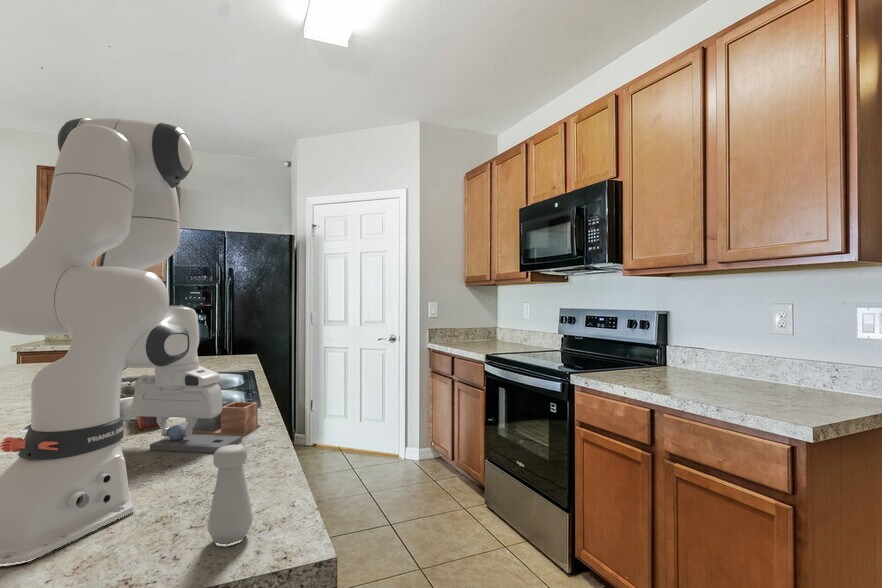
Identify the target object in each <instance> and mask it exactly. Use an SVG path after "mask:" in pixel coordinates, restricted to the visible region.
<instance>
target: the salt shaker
mask: <svg viewBox="0 0 882 588" xmlns="http://www.w3.org/2000/svg"><path fill="white" fill-rule="evenodd" d="M212 457H213V458H212V460H213V462H212V463H213V465H214V467H215V468H218V470H217V475H216V480H215V487H214V491H213V496H212V500H211V501H212V502H211V506H210V510H209V517H208V521H207V522H208V523H207V525H206V526H207V532H208V533H209V535H210V536H211V540H212V542H213V544H214V543H219V544H226V545H227V544H230V543H233V542H236V541H239V540H242V539H243V538H244V537H245V536H246V534H247V535H248V534H249V530H250V528H251V526H252V524H253V520H254V515H253V510H252V505H251V499H250V495H249V491H248V490H249V489H248V485H247V480H246V475H245V469H244V464H245V463H246V461H247V459H248V451H247V448H246V447H244V446H243V444H236V445H227V446H223V447H221V448H219V449H217V450H216V452H215V453H213V456H212ZM246 537H247V536H246ZM246 537H245V538H246Z"/></svg>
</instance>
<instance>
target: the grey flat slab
mask: <svg viewBox="0 0 882 588" xmlns="http://www.w3.org/2000/svg"><path fill="white" fill-rule="evenodd" d="M242 441H243V436H224V435H198V434H192V436H190V437H183V438H182V439H181V440H178V441H173V440H171V439H170V438H169V436H165V437H164V438H162V439H160V440H157V441H155V442H153V443H150V444H149V451H165V452H187V453H188V452H189V453H213V454H214V453H215V452H216V450H217V449H219V448H221V447H223V446H227V445H239V443H242Z"/></svg>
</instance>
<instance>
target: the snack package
mask: <svg viewBox="0 0 882 588" xmlns="http://www.w3.org/2000/svg"><path fill="white" fill-rule="evenodd" d="M135 419H136V420H137V425H138V427H139V429H140V430H141V431H148V430H147V429H149V430H154V428H155V429H158V428H160V426H159V425H158V423H157V417H147V416H135ZM160 429H161V428H160Z"/></svg>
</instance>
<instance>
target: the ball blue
mask: <svg viewBox="0 0 882 588" xmlns="http://www.w3.org/2000/svg"><path fill="white" fill-rule="evenodd" d="M179 424H180V423H179ZM179 424H173V425H172V426H170V427H171V428H170V429H169V431H168V436H169V438H170V439H171V440H173V441H178V440H181V439H182V438H183V437H182V429H185V427H184V426H183V425H179ZM168 436H167V437H168Z"/></svg>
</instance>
